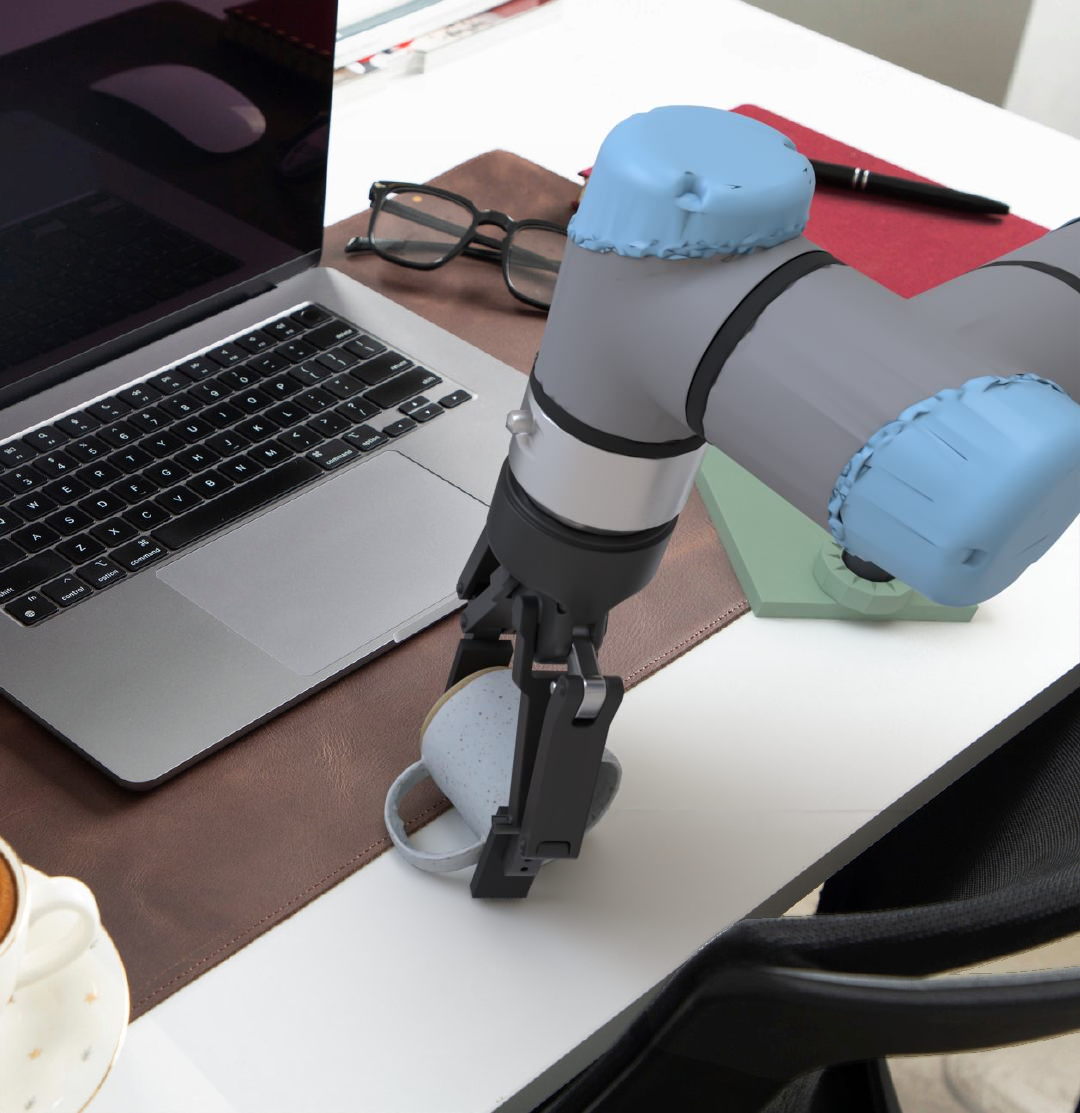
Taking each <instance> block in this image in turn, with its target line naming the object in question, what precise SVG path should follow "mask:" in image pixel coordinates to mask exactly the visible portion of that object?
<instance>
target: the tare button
mask: <svg viewBox="0 0 1080 1113" xmlns="http://www.w3.org/2000/svg"><path fill="white" fill-rule="evenodd" d="M845 565H846V567H847V568H848V569H849V570H850V571H852V572H853V573H854V574H856V575H857V576H858V577H860V578H863V579H865V580H868V581H871V582H885V581H887V580H888V579H889V578H890V577H891V574H890V573H888V572H886V571H885V570H883V569H882V568H880V567H879V566H877V565H876V564H874V563H873V562H871V561H863V560H862V559H861V558H859V557H858V556H857V555H855V556H852V555H851V554H850V553H847V555H846V557H845Z"/></svg>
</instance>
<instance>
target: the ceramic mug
mask: <svg viewBox="0 0 1080 1113" xmlns="http://www.w3.org/2000/svg"><path fill="white" fill-rule="evenodd" d="M512 669H513V667H510V666H509V667H503V666H497V667H490V668H487V669H483V670H480V671H477V672H475V673H473V674H471V675H469V676H467V677H465V678H464V679H462V680H461V681H460V682H458V683H457V684H456V685H454V686H453V687H451V688H450V689H449V690H448V691H447V692H446V693H445V694H444V693H443V694H444V695H442V696H440V698H439V699H438V700H437V701H436V703H434V705H433V706H432V707H431V709H430V710H429V712H428V714H427V715H426V717H425V720H424V721H423V723H422V726H421V728H420V729H421V730H420V735H419V740H418V750H419V754H420V757H421V759H419V760H418V761H416V762H413V763H412V764H411V765H410V766H408V767H406V768H405V770H404V771H403V772H402V773H401V774H399V775H398V776H397V777H396V779H395V780H394V782H393V783H392V785H391V786H390V788H389V790H388V791H387V793H386V794H387V795H386V799H385V803H384V812H383V813H384V823H385V826H386V829H387V831H388V834H389V836H390V839H391V841H392V844H393V845H394V847H395V849H396V850H397V852H398V853H399V854H400V855H401V856H402V857H403V858H404V859H405V860H406V862H408V863H409V864H410V865H413V867H416V868H418V869H419V870H422V871H426V872H431V873H437V874H441V873H442V874H443V873H445V874H446V873H447V874H449V873H453V872H458V871H461V870H463V869H466V868H468V867H471V866H474V865H477V864H478V861H479V859H480V856H481V853H482V851H483V848H484V845H485V843H486V840H487V837H488V834H489V832H490V829H491V826H492V825H491V815H496V813H497V810H498V807H499V806H508V805H509V796H510V786H511V777H512V768H513V759H514V750H515V741H516V732H517V723H518V713H519V704H520V695H521V690H520V689H519V688H518V687H517V686H516V685H515V683H514V682H513V680H512ZM618 759H619V758H617V756H615V754H614V753H613V752H611V751H610V750H609V749H608V748H607V747H605V748H604V752H603V757H602V761H601V765H600V769H599V773H598V777H597V782H596V786H595V790H594V794H593V798H592V803H591V807H590V811H589V815H588V819H587V823H586V828H585V832H584V836H583V838H584V837H586V836H587V835H589V833H590V832H591V831H592V830H593V829H595V827H596V826H597V825H598V824H599V823H600V821H601V820H602V818H603V817H604V815H605V814H606V813H607V811H608V810H609V809H610V808H611V805H612V803H613V802H614V800H615V798H616V797H617V794H618V792H619V790H620V786H621V783H622V776H623V769H622V766H621V765H622V764H621V763H620V761H619V760H618ZM427 777H430V778H432V780H433V781H434V783H435V784H436V786H437V787H438V788H439V789H440V791H441V792H442V793H443V794H444V795H445V796H446V797H447V799H448V800H450V802H451V803H452V806H454V808H456V810H457V812H458V813H459V815H460V816H461V817H462V818H463V820H464V821H465V822H466V824H467V825H468V826H469V828H470V829H471V831H472V832H473V833H474V836H475V837H476V838H477V839H478V841H477V842H476V843H474V844H472V845H470V846H466V847H464V848H461V849H458V850H454V851H450V852H447V853H435V852H434V853H432V852H428V851H422V850H421V851H419V850H417V849H415V848H414V846H413V845H412V843H411V841H410V839H409V838H408V836H407V833H406V831H405V827H404V826H405V822H404V821H403V819H401V817H400V816H399V809H400V807H401V804H402V803H401V802H402V801H403V800H404V799H405V797H406V796H407V795H408V794H409V793H410V791H411V790H412V789H413V788H414V787H415V786H417V785H418V784H419V783H420V782H422V781H423V780H425V779H426V778H427ZM553 860H554V859H543V861H542V863H541V866H543V865H546V864H547V863H549V862H551V861H553Z"/></svg>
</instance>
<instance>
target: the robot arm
mask: <svg viewBox="0 0 1080 1113" xmlns="http://www.w3.org/2000/svg"><path fill="white" fill-rule="evenodd" d="M814 170H815V169H814V167H813V164H812V163H811V162H810V161H809V159H808V157H807V156H806V155H805V154H803V153H800V152H798V150H797V145H796V144H795V143H794V142H793V140H792V139H791V138H790V137H788V136H786V135H785V134H784V133H782V132H780V130H778V129H776V128H774V127H772V126H771V125H768V124H767V123H764V122H762V121H759V120H757V119H755V118H753V117H750V116H746V115H744V114H740V113H738V112H733V111H730V110H727V109H722V108H717V107H710V106H704V105H693V104H692V105H691V104H671V105H663V106H657V107H654V108H651V109H650V110H649V111H646V112H645V111H644V112H637V113H633V114H632V115H631V114H630V116H628V117H627V118H624V119H623V120H621V121H619V122H618V123H617V124H616V125H614V127H613V128H611V130H610V131H609V132H608V133H607V135H606V136H605V138H604V139H603V141H602V142H601V145H600V147H599V150H598V153H597V155H596V158H595V160H594V164H593V166H592V169H591V171H590V175H589V177H588V180H587V183H586V187H585V189H584V192H583V194H582V197H581V200H580V202H579V206H578V208H577V210H576V213H574V214H573V215H572V216H571V219H570V220H569V223H568V225H567V228H566V231H567V237H566V242H565V246H564V249H563V250H564V251H563V254H562V259H561V262H560V266H559V270H558V274H557V279H556V282H555V286H554V290H553V294H552V299H551V303H550V306H549V310H548V316H547V318H546V323H545V327H544V330H543V334H542V339H541V343H540V346H539V349H538V351H537V352H536V353H535V355H534V358H533V361H534V362H533V363H532V367H531V370H530V373H529V377H528V380H527V382H526V387H525V390H524V394H523V398H522V401H521V404H520V409H513V410H511V411H509V412H508V413H507V415H506V421H505V428H506V429H507V431H508V432H509V433H510V434H511V437H510V441H509V445H508V454H507V455H506V457H505V458H504V460H503V463H502V464H501V468H500V471H499V474H498V477H497V478H498V479H497V481H496V484H495V488H494V492H493V495H492V498H491V501H490V505H489V508H488V512H487V515H486V521H485V525H484V527H483V529H482V530H481V532H480V535H479V537H478V539H477V541H476V543H475V545H474V547H473V549H472V551H471V553H470V555H469V556H468V559H467V560H466V563H465V565H464V567H463V569H462V571H461V573H460V575H459V577H458V580H457V583H456V586H455V587H456V588H455V590H456V593H457V598H458V600H461V601H467V607H465V608H464V609H463V610H462V612H461V613H460V618H459V626H460V629H461V632H462V634H464V635H463V638H460V639H459V642H458V645H457V647H456V652H455V655H454V658H453V662H452V665H451V668H450V672H449V674H448V678H447V681H446V684H445V688H444V691H443V693H442V694H443V695H444V694H445V693H446V692H447V691H448V690H449V689H450V688H451V687H453V686H454V685H456V684H457V683H458V682H460V681H461V680H462V679H464V678H465V677H467V676H469V675H471V674H473V673H475V672H477V671H480V670H483V669H487V668H490V667H497V666H503V667H510V664H511V661H512V668H513V669H512V680H513V682H514V683H515V685H516V686H517V687H518V688H519V689H520V690H521V695H520V704H519V713H518V723H517V732H516V741H515V750H514V759H513V768H512V777H511V786H510V796H509V805H508V806H499V807H498V810H497V813H496V815H491V825H492V826H491V829H490V832H489V834H488V837H487V840H486V843H485V845H484V848H483V851H482V853H481V856H480V859H479V861H478V863H477V864H476V867H475V870H474V873H473V875H472V878H471V880H470V883H469V889H470V893H471V898H472V899H527V896H528V894H529V892H530V890H531V887H532V885H533V883H534V880H535V878H536V875H537V874H538V872H539V870H540V868H541V866H542V865H541V863H542V861H543V859H553V860H577V859H579V856H580V853H581V848H582V844H583V840H584V837H583V836H584V832H585V828H586V823H587V819H588V815H589V811H590V807H591V803H592V798H593V794H594V790H595V786H596V782H597V777H598V773H599V769H600V765H601V761H602V757H603V752H604V748H606V743H607V740H608V736H609V731H610V728H611V725H612V723H613V720H614V718H615V717H616V714H617V713H618V710H619V709H620V707H621V705H622V702H623V701H624V694H625V686H624V681H623V678H622V677H621V676H620V675H606V674H605V675H603V674H602V670H601V667H600V663H599V660H598V659H599V651H600V650H601V647H602V645H603V642H604V639H605V636H606V634H607V631H608V622H609V615H610V611H612V610H613V609H615V607H617V606H618V605H620V604H621V603H623V602H625V601H627V600H628V599H630V598H631V597H634V596H635V595H637V594H638V593H640V592H641V591H643V590H644V589H645V588H646V587H647V586H648V585H649V584H650V583H651V581H652V580H653V579H654V577H655V576H656V574H657V572H658V569H659V567H660V565H661V562H662V560H663V557H664V555H665V552H666V551H667V547H668V545H669V543H670V540H671V538H672V535H673V534H674V531H675V529H676V526H677V523H678V521H679V516H680V513H681V512H682V511H683V510H684V509H685V507H686V505H687V504H686V503H687V502H688V499H689V497H690V494H691V491H692V490H693V487H694V484H695V479H696V477H697V474H698V472H699V469H700V467H701V464H702V462H703V459H704V457H705V455H706V452H707V450H708V448H709V445H710V444H711V445H713V446H715V447H716V448H718V449H719V450H720V451H722V452H723V453H724V454H726V455H727V456H728V457H730V458H731V459H732V460H734V461H735V462H736V463H737V464H739V465H740V466H741V467H743V468H744V469H745V470H747V471H748V472H749V473H751V474H752V475H753V476H755V477H756V478H757V479H759V480H760V481H761V482H762V483H764V484H765V485H766V486H768V487H769V488H770V489H772V490H773V491H774V492H776V493H777V494H778V495H780V496H781V497H782V498H784V499H785V500H786V501H787V502H789V503H790V504H791V505H793V506H794V507H795V508H797V509H798V510H799V511H801V512H802V513H803V514H805V515H806V516H807V517H809V518H810V519H811V520H813V521H814V522H815V523H816V524H818V525H819V526H820V527H822V528H823V529H824V530H825V531H827V532H828V533H829V534H831V535H832V536H833V537H834V538H835V541H836V542H837V543H838V544H839V545H841V546H843V548H844V549H845V550H846V551H847V552H848V553H850V554H851V555H852V556H855V555H857V556H858V557H859V558H861V559H862V560H863V561H871V562H873V563H874V564H876V565H877V566H879V567H880V568H882V569H883V570H885V571H886V572H888V573H890V574H891V575H893V576H894V577H896V578H897V579H899V580H900V581H902V582H903V583H905V584H906V585H908V586H909V587H911V588H912V589H914V590H915V591H917V592H918V593H920V594H921V595H923V596H924V597H926V598H927V599H929V600H930V601H932V602H935V603H937V604H939V605H943V606H949V607H958V608H960V607H968V606H973V605H976V604H977V605H979V604H982V603H984V602H987V601H989V600H990V599H992V598H994V597H996V596H998V595H999V594H1000V593H1002V592H1003V591H1004V590H1006V589H1007V588H1009V587H1010V586H1011V585H1013V584H1014V583H1015V582H1016V581H1017V580H1018V579H1019V578H1020V576H1021V575H1022V574H1023V573H1024V572H1025V571H1026V570H1027V569H1028V568H1029V567H1030V566H1031V565H1032V564H1035V563H1037V562H1038V561H1039V560H1040V559H1041V558H1042V557H1043V556H1045V554H1047V552H1048V551H1050V549H1051V548H1052V547H1053V546H1054V545H1055V544H1056V543H1057V542H1058V540H1060V538H1061V537H1062V536H1063V535H1064V534H1065V532H1067V530H1068V529H1069V527H1070V526H1071V525H1072V524H1073V522H1074V521H1076V518H1077V517H1078V516H1079V515H1080V216H1077V217H1073V218H1072V219H1070V220H1068V221H1066V222H1065V223H1064V224H1062V225H1060V226H1059V227H1057V228H1055V229H1053V230H1050V231H1048V232H1047V233H1045V234H1044V235H1043V236H1042V237H1039V238H1038V239H1035V240H1033V241H1031V242H1029V243H1026V244H1024V245H1022V246H1020V247H1017V248H1015V249H1014V250H1012V251H1010V252H1008V253H1005V254H1003V255H1001V256H998V257H997V258H995V259H993V260H990V261H989V262H986V263H984V264H982V265H980V266H978V267H976V268H974V269H971V270H969V271H967V272H965V273H963V274H960V275H959V276H956V277H955V278H952V279H950V280H947V281H944V282H943V283H941V284H938V285H937V286H934V287H932V288H929V289H927V290H925V291H923V292H921V293H918V294H916V295H914V296H911V297H909V298H905V297H903V296H901V295H899V294H898V293H896V292H894V291H892V289H889V288H888V287H886V286H885V285H883V284H881V283H879V282H878V281H876V280H875V279H873V278H871V277H869V276H868V275H866V274H865V273H863V272H861V271H860V270H858V269H856V268H855V267H852V266H851V265H849V264H847V263H846V262H843V261H841V260H840V259H838V258H836V257H835V256H834V255H833V254H832V253H831V252H830V251H828V250H826V249H825V248H823V247H822V246H820V245H819V244H816V243H815V242H813V241H811V240H809V239H808V238H807V236H805V235H804V234H803V233H804V232H805V230H806V229H807V222H808V221H810V218H811V217H810V210H811V205H812V202H813V198H814V194H815V189H816V187H815V186H816V175H815V171H814ZM501 635H511V636H512V635H514V636H515V642H514V645H513V642H512V639H501ZM512 658H513V660H512ZM534 663H535V664H539V665H557V666H558V665H559V666H561V665H566V666H567V667H566V670H547V669H546V670H542V669H541V670H540V669H533V665H534ZM443 695H442V696H443Z"/></svg>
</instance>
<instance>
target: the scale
mask: <svg viewBox="0 0 1080 1113" xmlns="http://www.w3.org/2000/svg"><path fill="white" fill-rule="evenodd" d="M694 484H695V486H696V488H697V491H698V492H699V494H700V497H701V499H702V501H703V503H704V506H705V508H706V510H707V512H708V515H709V517H710V519H711V521H712V524H713V526H714V528H715V531H716V533H717V535H718V537H719V540H720V542H721V544H722V546H723V548H724V552H725V553H726V555H727V557H728V560H729V563H730V564H731V566H732V569H733V571H734V573H735V575H736V578H737V580H738V582H739V585H740V587H741V588H742V591H743V593H744V595H745V598H746V601H747V602H748V605H749V607H750V609H751V611H752V613H753V616H754V617H755V618H767V619H808V620H809V619H813V620H815V619H816V620H852V621H853V620H854V621H855V620H857V621H858V620H859V621H898V622H900V621H901V622H903V621H904V622H944V623H945V622H946V623H947V622H949V623H950V622H951V623H970V622H971V621H972V619H973V617H974V616H975V614H976V613H977V611H978V610H979V604H976V605H973V606H968V607H960V608H958V607H949V606H943V605H939V604H937V603H935V602H932V601H930V600H929V599H927V598H926V597H924V596H923V595H921V594H920V593H918V592H917V591H915V590H914V589H912V588H911V587H909V586H908V585H906V584H905V583H903V582H902V581H900V580H899V579H897V578H896V577H894V576H893V575H891V577H890V578H889V579H888V580H887V581H885V582H871V581H868V580H865V579H863V578H860V577H858V576H857V575H856V574H854V573H853V572H852V571H850V570H849V569H848V568H847V567H846V565H845V557H846V555H847V553H848V552H847V551H846V550H845V549H844V548H843V546H841V545H839V544H838V543H837V542H836V541H835V538H834V537H833V536H832V535H831V534H829V533H828V532H827V531H825V530H824V529H823V528H822V527H820V526H819V525H818V524H816V523H815V522H814V521H813V520H811V519H810V518H809V517H807V516H806V515H805V514H803V513H802V512H801V511H799V510H798V509H797V508H795V507H794V506H793V505H791V504H790V503H789V502H787V501H786V500H785V499H784V498H782V497H781V496H780V495H778V494H777V493H776V492H774V491H773V490H772V489H770V488H769V487H768V486H766V485H765V484H764V483H762V482H761V481H760V480H759V479H757V478H756V477H755V476H753V475H752V474H751V473H749V472H748V471H747V470H745V469H744V468H743V467H741V466H740V465H739V464H737V463H736V462H735V461H734V460H732V459H731V458H730V457H728V456H727V455H726V454H724V453H723V452H722V451H720V450H719V449H718V448H716V447H715V446H713V445H711V444H710V445H709V448H708V450H707V452H706V455H705V457H704V459H703V462H702V464H701V467H700V469H699V472H698V474H697V477H696V479H695V482H694Z"/></svg>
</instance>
